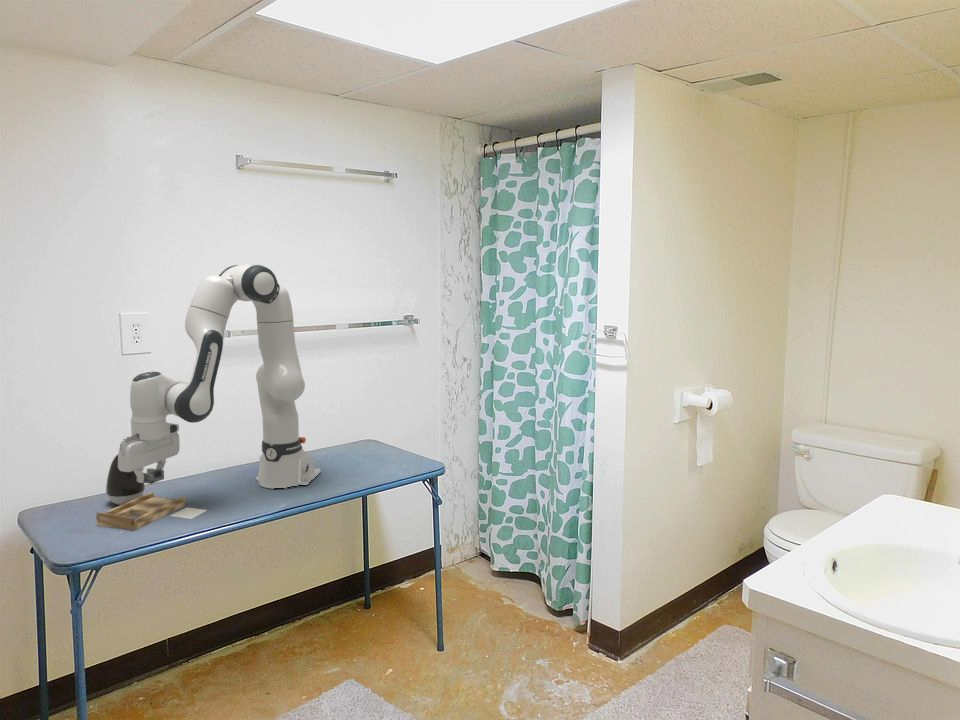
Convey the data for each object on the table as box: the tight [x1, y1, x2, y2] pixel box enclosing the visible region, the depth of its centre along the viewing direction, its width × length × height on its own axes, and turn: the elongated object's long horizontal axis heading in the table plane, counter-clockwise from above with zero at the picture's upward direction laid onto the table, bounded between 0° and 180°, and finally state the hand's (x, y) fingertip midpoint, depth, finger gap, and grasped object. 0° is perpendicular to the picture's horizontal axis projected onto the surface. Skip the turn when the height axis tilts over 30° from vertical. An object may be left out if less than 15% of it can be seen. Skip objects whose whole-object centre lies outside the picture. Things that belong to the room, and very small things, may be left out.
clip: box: [136, 468, 165, 485], centre depth 197 cm, size 5×5×2 cm
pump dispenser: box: [105, 454, 146, 506], centre depth 206 cm, size 10×10×15 cm
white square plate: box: [170, 507, 208, 520], centre depth 197 cm, size 7×7×1 cm
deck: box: [95, 491, 187, 531], centre depth 195 cm, size 20×12×4 cm, turn 164°
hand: (150, 478), depth 197 cm, fingers closed on clip, 5 cm apart
